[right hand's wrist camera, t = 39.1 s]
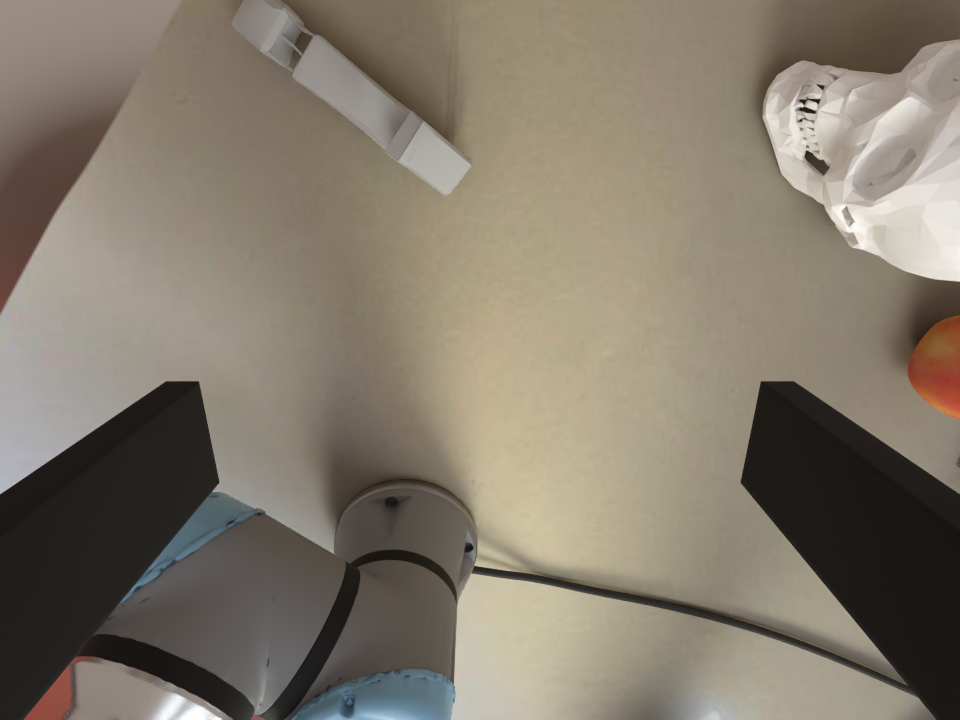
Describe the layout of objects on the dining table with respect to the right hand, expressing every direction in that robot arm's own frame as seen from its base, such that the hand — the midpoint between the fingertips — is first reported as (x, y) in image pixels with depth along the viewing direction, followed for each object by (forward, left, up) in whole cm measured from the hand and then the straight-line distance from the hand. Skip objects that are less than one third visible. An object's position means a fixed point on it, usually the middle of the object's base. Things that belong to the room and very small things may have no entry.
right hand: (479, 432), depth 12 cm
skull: (-22, -24, -36) cm, 49 cm away
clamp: (+14, -3, -36) cm, 39 cm away
